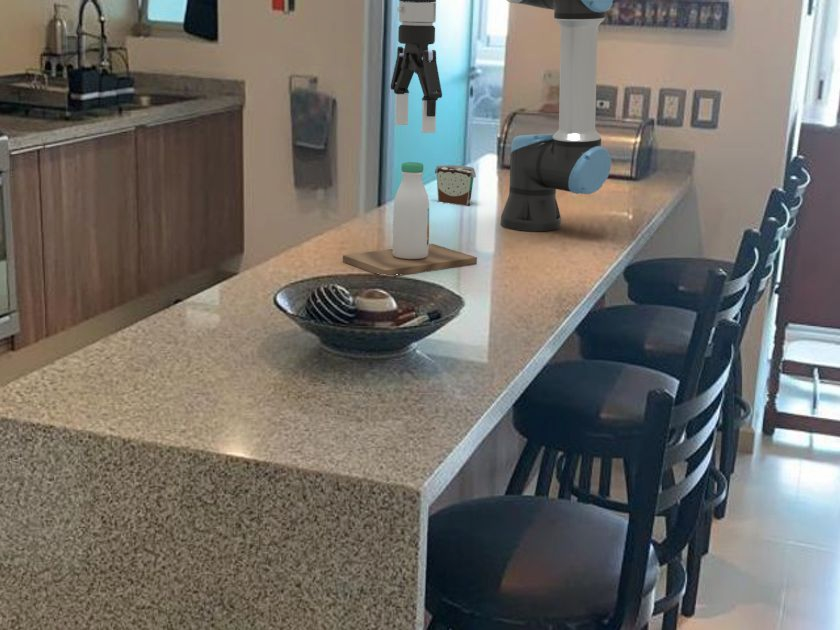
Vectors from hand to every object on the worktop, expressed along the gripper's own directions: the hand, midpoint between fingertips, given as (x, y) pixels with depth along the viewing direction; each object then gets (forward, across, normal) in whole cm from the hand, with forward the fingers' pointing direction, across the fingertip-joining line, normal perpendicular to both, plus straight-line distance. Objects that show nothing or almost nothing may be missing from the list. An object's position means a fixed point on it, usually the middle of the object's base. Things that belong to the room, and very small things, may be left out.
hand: (414, 128), depth 243 cm
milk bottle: (+27, +1, -1) cm, 27 cm away
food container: (+29, -62, +43) cm, 81 cm away
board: (+29, +1, -1) cm, 29 cm away
